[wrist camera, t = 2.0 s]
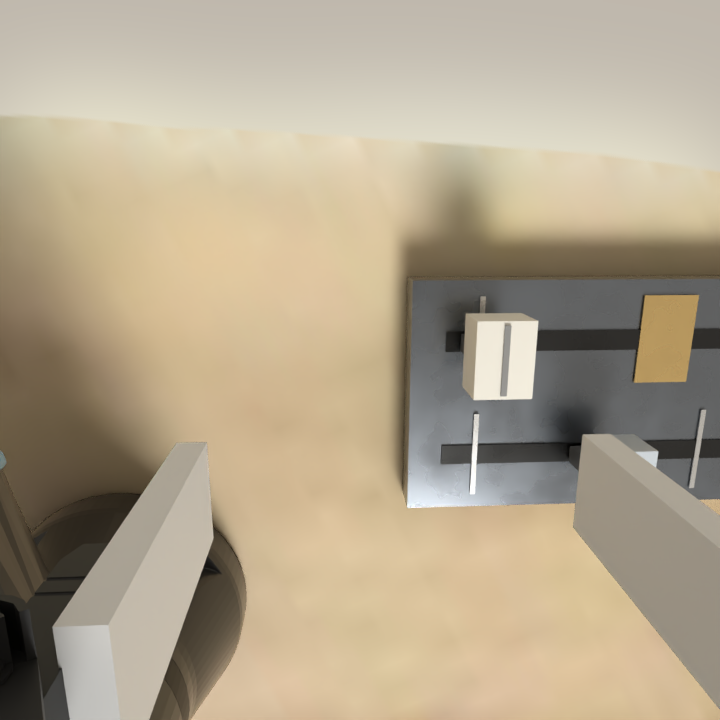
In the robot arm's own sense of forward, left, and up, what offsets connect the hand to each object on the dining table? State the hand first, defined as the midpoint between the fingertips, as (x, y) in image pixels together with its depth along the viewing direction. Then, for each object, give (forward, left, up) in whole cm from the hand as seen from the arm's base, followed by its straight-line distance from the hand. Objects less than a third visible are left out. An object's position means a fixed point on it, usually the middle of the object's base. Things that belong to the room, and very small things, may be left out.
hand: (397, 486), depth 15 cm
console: (+14, -3, -20) cm, 24 cm away
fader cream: (+7, 0, -17) cm, 19 cm away
